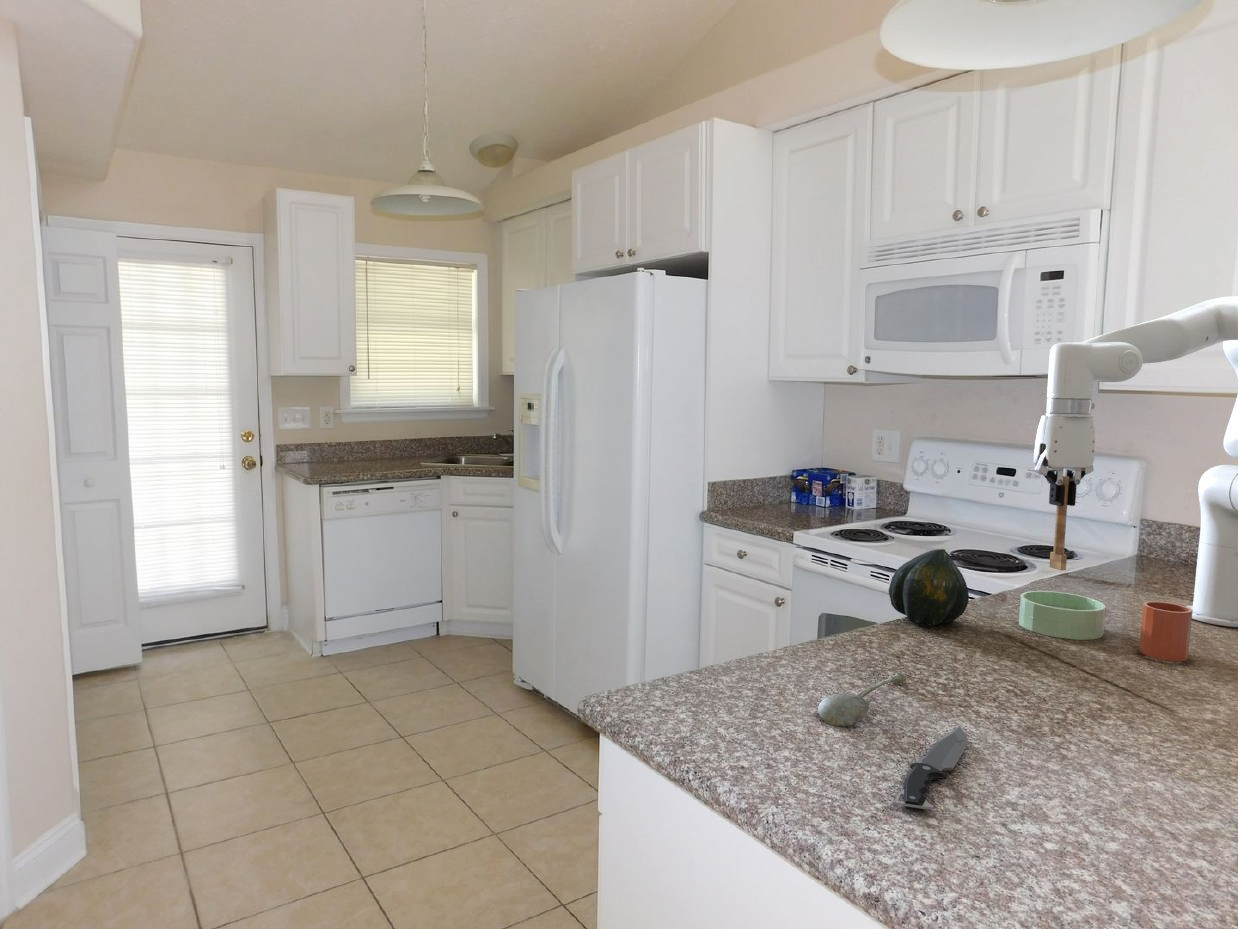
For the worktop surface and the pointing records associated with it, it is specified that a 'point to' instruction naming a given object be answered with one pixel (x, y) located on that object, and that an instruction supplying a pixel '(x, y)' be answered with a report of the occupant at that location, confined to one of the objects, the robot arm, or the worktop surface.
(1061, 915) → the worktop surface
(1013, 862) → the worktop surface
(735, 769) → the worktop surface
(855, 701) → the soupspoon
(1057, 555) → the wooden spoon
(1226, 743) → the worktop surface
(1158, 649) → the crock
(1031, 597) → the bowl
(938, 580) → the squash
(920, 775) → the knife
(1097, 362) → the robot arm
